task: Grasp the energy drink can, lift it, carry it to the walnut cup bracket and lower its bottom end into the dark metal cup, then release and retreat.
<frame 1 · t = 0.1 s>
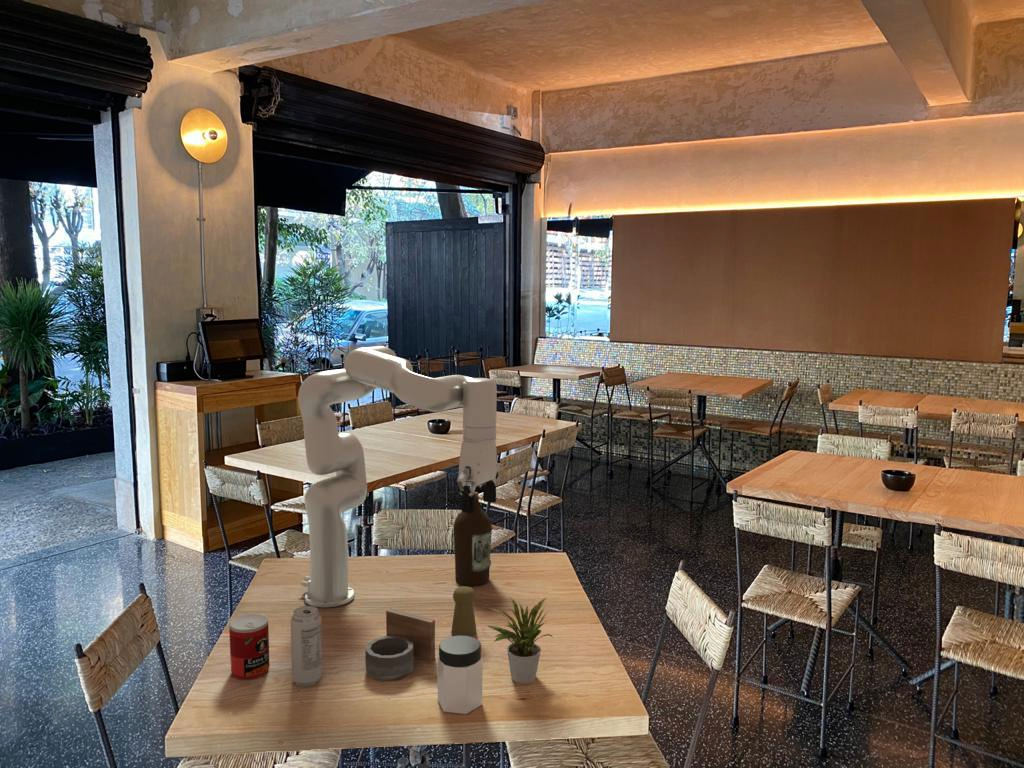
hand: (479, 507, 170), 31 cm above the table, fingers open, 9 cm apart
house plant: (524, 674, 157), on the table
energy drink can: (307, 681, 154), on the table
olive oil: (472, 580, 208), on the table
cup bracket: (389, 668, 159), on the table
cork: (463, 633, 176), on the table
jar: (459, 703, 146), on the table
canned food: (250, 672, 157), on the table
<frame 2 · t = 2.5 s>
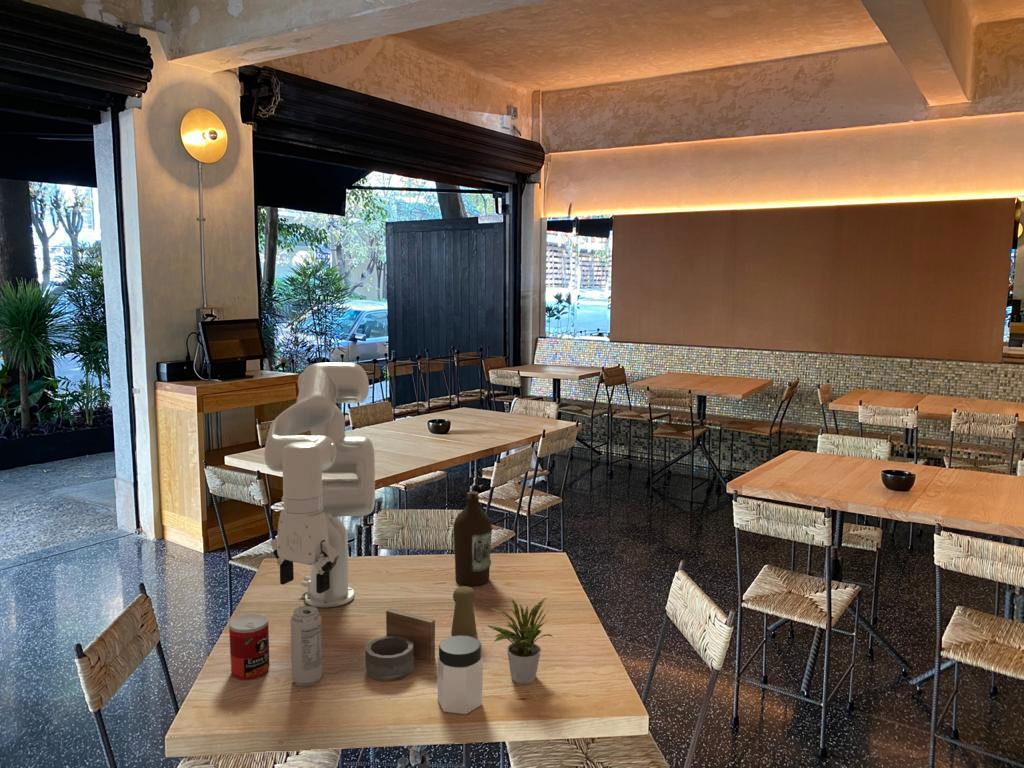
hand: (304, 586, 151), 20 cm above the table, fingers open, 9 cm apart
nothing on the table moved.
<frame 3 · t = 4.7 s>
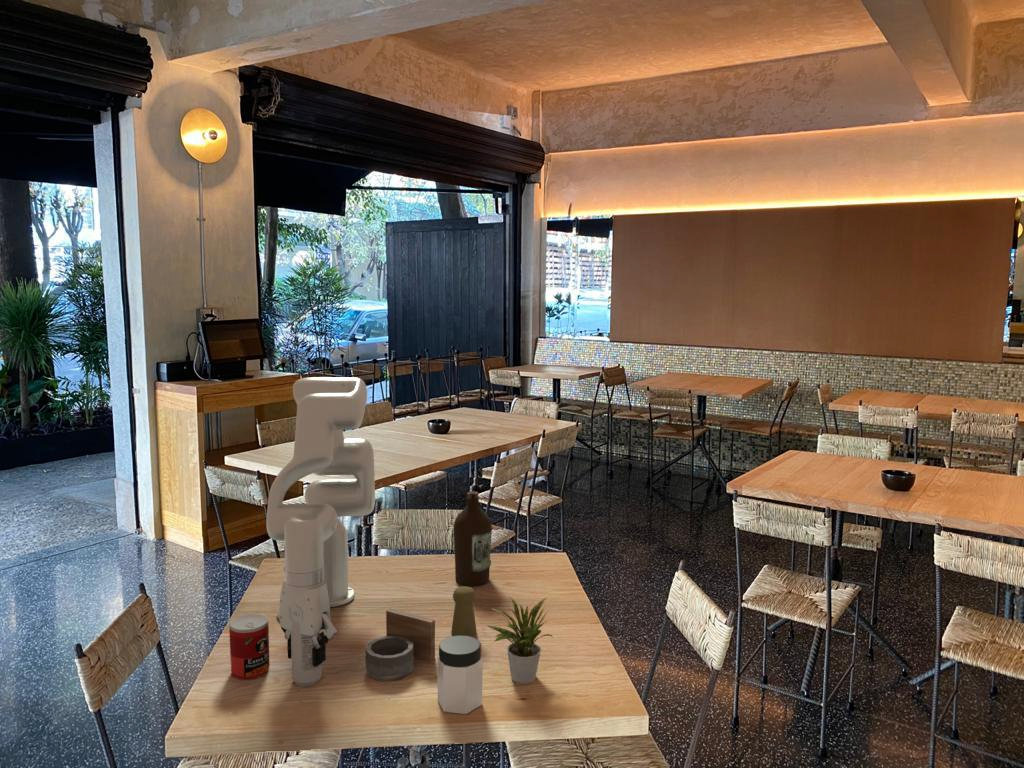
hand: (306, 659, 153), 5 cm above the table, fingers closed on energy drink can, 6 cm apart
energy drink can: (307, 681, 154), on the table, touching gripper
everything else where it was.
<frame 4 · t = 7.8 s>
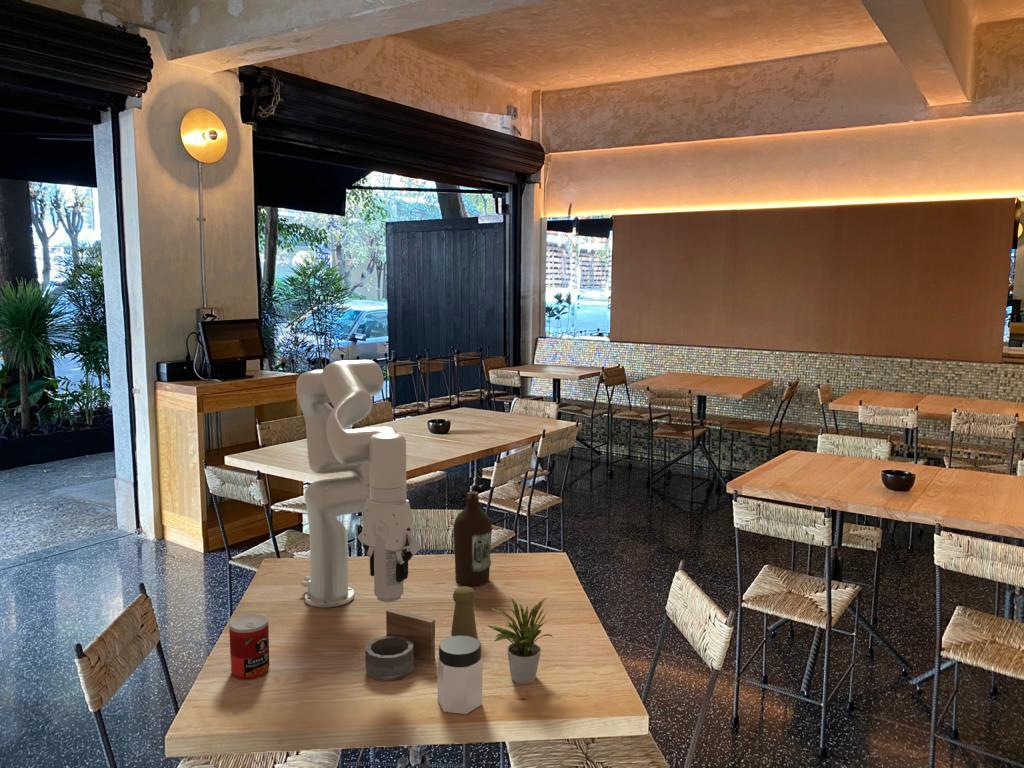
hand: (389, 576, 156), 21 cm above the table, fingers closed on energy drink can, 6 cm apart
energy drink can: (389, 598, 157), point 16 cm above the table, touching gripper
everything else where it was.
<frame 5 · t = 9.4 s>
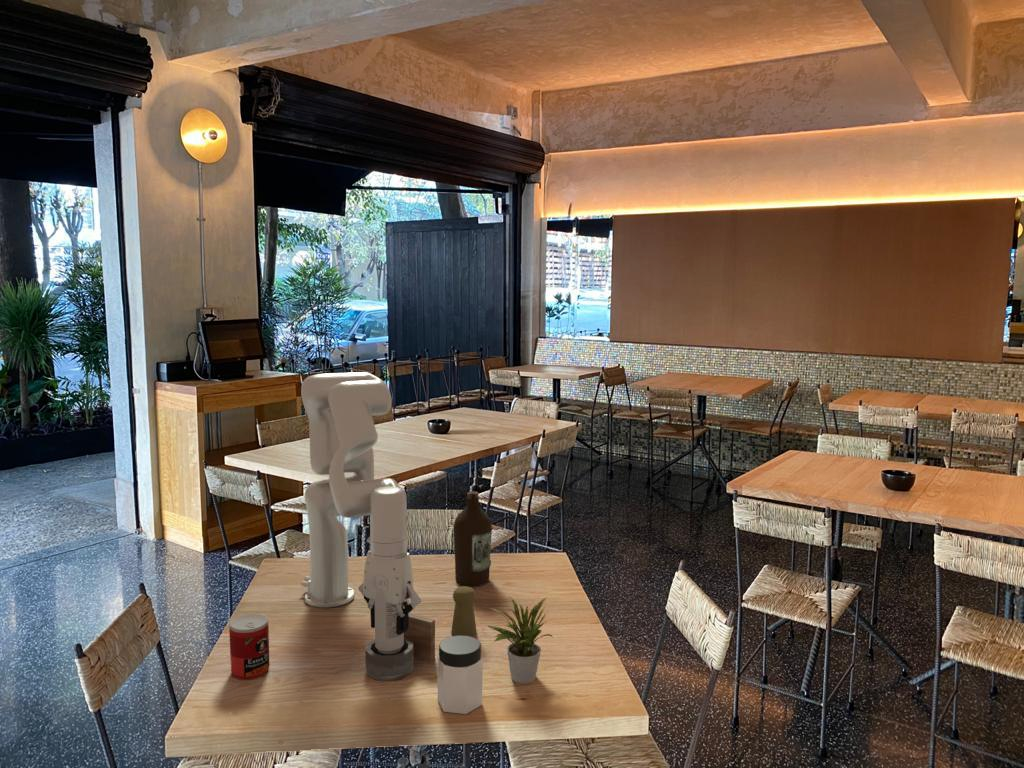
hand: (389, 627, 158), 9 cm above the table, fingers closed on energy drink can, 6 cm apart
energy drink can: (389, 649, 158), point 4 cm above the table, touching gripper
everything else where it was.
when the fingers open (7 cm above the table, at t = 10.7 s): energy drink can drops 1 cm, resting on cup bracket.
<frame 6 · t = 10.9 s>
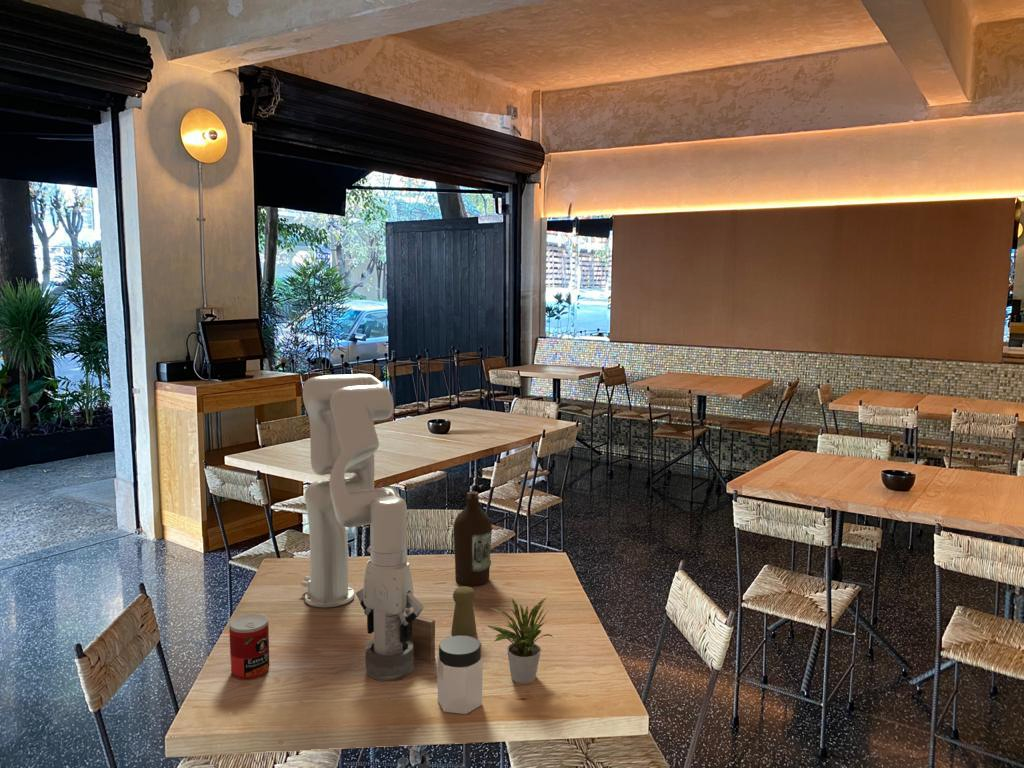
hand: (389, 635, 158), 7 cm above the table, fingers open, 8 cm apart
energy drink can: (388, 664, 159), point 1 cm above the table, touching cup bracket
everything else where it was.
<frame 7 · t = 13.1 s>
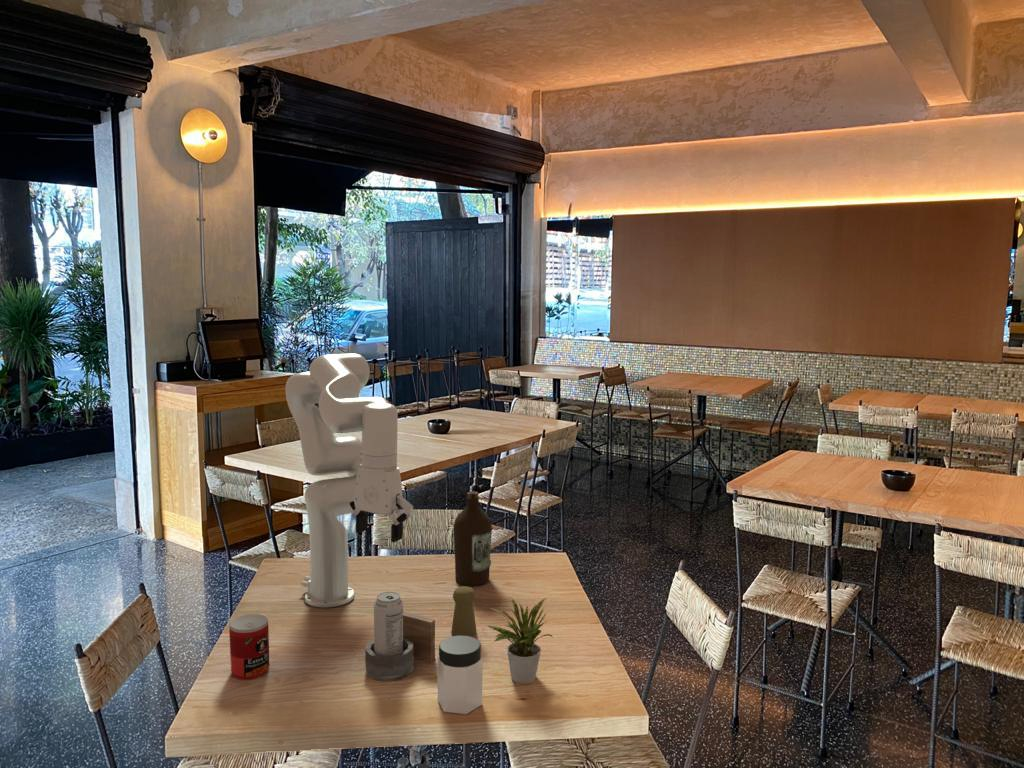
hand: (378, 535, 164), 26 cm above the table, fingers open, 9 cm apart
nothing on the table moved.
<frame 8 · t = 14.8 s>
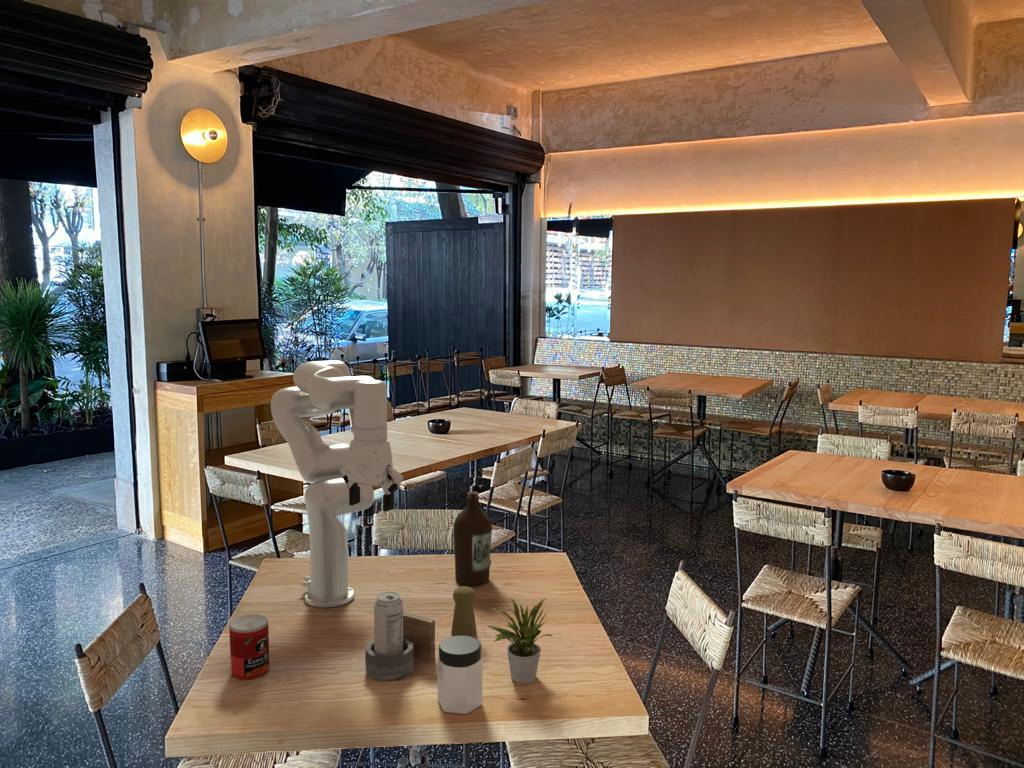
hand: (371, 507, 172), 30 cm above the table, fingers open, 9 cm apart
nothing on the table moved.
at the end: energy drink can 0.3 cm off-centre on the cup bracket, point 0.8 cm above the cup bracket's base; energy drink can tilted 1°; the gripper is holding nothing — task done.
